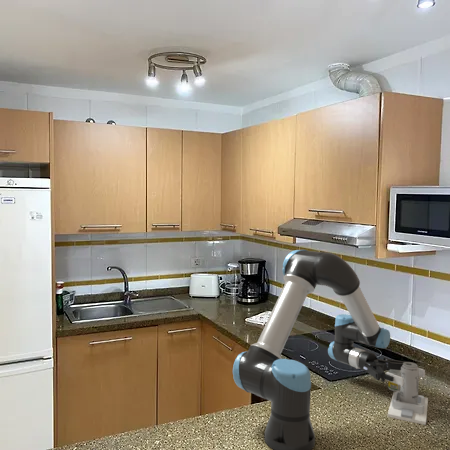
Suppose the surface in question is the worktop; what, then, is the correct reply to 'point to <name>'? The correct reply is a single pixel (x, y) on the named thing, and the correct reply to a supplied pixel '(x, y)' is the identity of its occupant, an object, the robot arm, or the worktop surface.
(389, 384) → the supplement bottle
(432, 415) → the worktop surface
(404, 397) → the energy drink can
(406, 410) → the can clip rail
